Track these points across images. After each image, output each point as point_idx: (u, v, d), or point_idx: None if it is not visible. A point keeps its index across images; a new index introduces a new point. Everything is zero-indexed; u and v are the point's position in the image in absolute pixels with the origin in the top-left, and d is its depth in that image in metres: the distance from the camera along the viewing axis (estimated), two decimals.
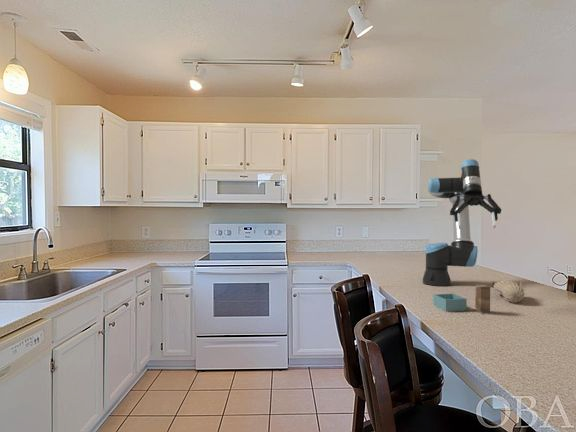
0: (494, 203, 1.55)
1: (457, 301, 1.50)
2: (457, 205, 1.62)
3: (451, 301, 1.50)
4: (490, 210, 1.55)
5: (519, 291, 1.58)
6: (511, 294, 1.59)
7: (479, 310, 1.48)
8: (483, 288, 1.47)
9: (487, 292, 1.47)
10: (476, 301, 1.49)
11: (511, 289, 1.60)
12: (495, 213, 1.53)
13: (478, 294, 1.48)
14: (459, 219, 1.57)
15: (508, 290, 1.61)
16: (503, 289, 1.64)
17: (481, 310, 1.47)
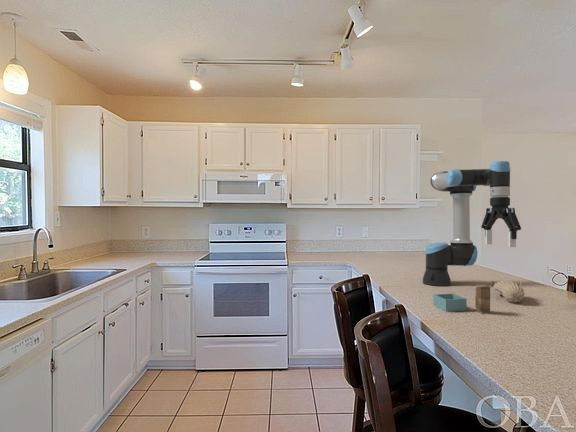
0: (511, 220, 1.46)
1: (457, 301, 1.50)
2: (489, 218, 1.61)
3: (451, 301, 1.50)
4: None
5: (519, 291, 1.58)
6: (511, 294, 1.59)
7: (479, 310, 1.48)
8: (483, 288, 1.47)
9: (487, 292, 1.47)
10: (476, 301, 1.49)
11: (511, 289, 1.60)
12: (512, 232, 1.46)
13: (478, 294, 1.48)
14: (486, 237, 1.60)
15: (508, 290, 1.61)
16: (503, 289, 1.64)
17: (481, 310, 1.47)
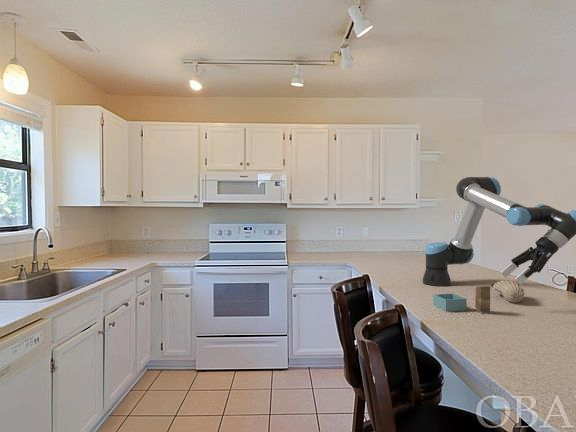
0: (539, 260, 1.37)
1: (457, 301, 1.50)
2: None
3: (451, 301, 1.50)
4: None
5: (519, 291, 1.58)
6: (511, 294, 1.59)
7: (479, 310, 1.48)
8: (483, 288, 1.47)
9: (487, 292, 1.47)
10: (476, 301, 1.49)
11: (511, 289, 1.60)
12: (529, 270, 1.38)
13: (478, 294, 1.48)
14: (506, 267, 1.53)
15: (508, 290, 1.61)
16: (503, 289, 1.64)
17: (481, 310, 1.47)
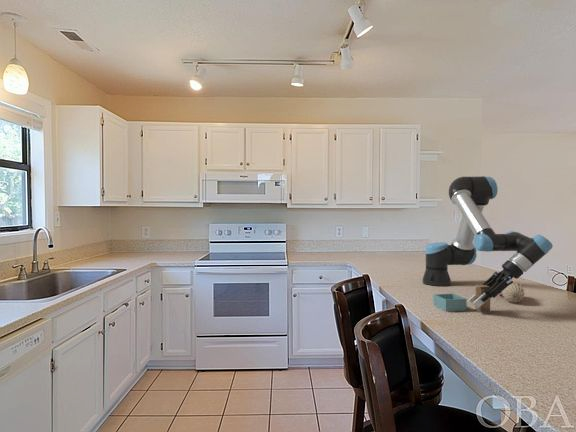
0: (497, 286, 1.43)
1: (457, 301, 1.50)
2: None
3: (451, 301, 1.50)
4: None
5: (519, 291, 1.58)
6: (511, 294, 1.59)
7: (479, 310, 1.47)
8: (483, 288, 1.47)
9: None
10: None
11: (511, 289, 1.60)
12: (486, 294, 1.45)
13: (478, 294, 1.48)
14: (474, 295, 1.51)
15: (508, 290, 1.61)
16: None
17: (481, 310, 1.47)
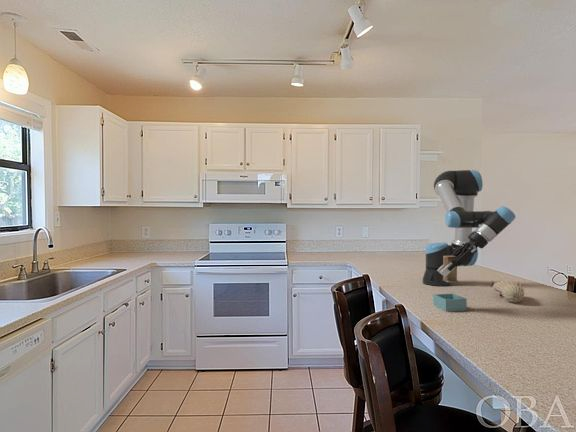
0: (462, 255, 1.49)
1: (457, 301, 1.50)
2: None
3: (451, 301, 1.50)
4: None
5: (519, 291, 1.59)
6: (511, 295, 1.59)
7: (446, 279, 1.54)
8: (450, 258, 1.53)
9: None
10: None
11: (511, 289, 1.60)
12: (452, 264, 1.51)
13: (445, 264, 1.54)
14: (442, 265, 1.57)
15: (508, 290, 1.61)
16: (503, 289, 1.64)
17: (448, 279, 1.53)
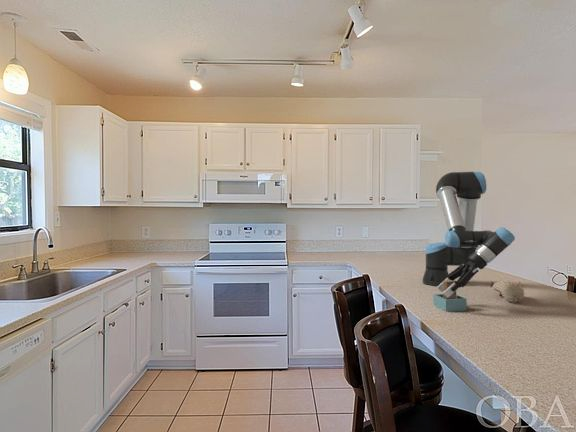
0: (464, 275, 1.47)
1: (457, 301, 1.50)
2: None
3: (451, 301, 1.50)
4: None
5: (519, 291, 1.59)
6: (511, 294, 1.59)
7: None
8: (449, 283, 1.53)
9: None
10: (443, 296, 1.56)
11: (511, 289, 1.60)
12: (455, 284, 1.49)
13: (445, 289, 1.54)
14: (442, 282, 1.60)
15: (508, 290, 1.61)
16: (503, 289, 1.64)
17: None
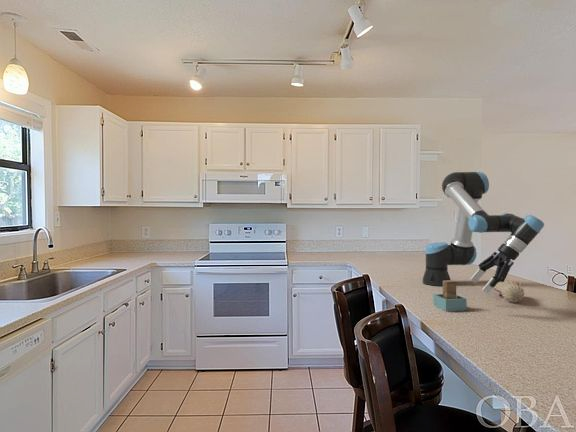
0: (501, 270, 1.44)
1: (457, 301, 1.50)
2: (490, 261, 1.58)
3: (451, 301, 1.50)
4: None
5: (519, 291, 1.59)
6: (511, 294, 1.59)
7: None
8: (449, 283, 1.53)
9: (453, 287, 1.53)
10: (443, 296, 1.56)
11: (511, 289, 1.60)
12: (494, 280, 1.45)
13: (445, 289, 1.54)
14: (475, 274, 1.60)
15: (508, 290, 1.61)
16: (503, 289, 1.64)
17: None
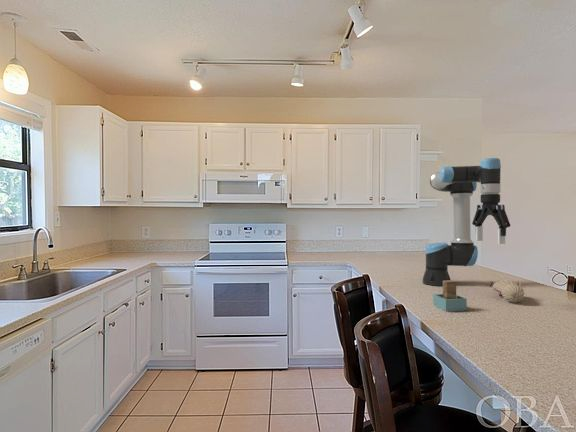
0: (501, 217, 1.47)
1: (457, 301, 1.50)
2: (480, 214, 1.62)
3: (451, 301, 1.50)
4: None
5: (519, 291, 1.59)
6: (511, 294, 1.59)
7: None
8: (449, 283, 1.53)
9: (453, 287, 1.53)
10: (443, 296, 1.56)
11: (511, 289, 1.60)
12: (501, 229, 1.47)
13: (445, 289, 1.54)
14: (477, 233, 1.61)
15: (508, 290, 1.61)
16: (503, 289, 1.64)
17: None
